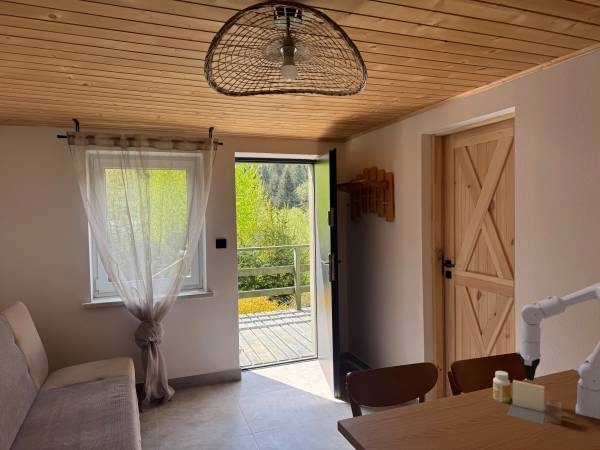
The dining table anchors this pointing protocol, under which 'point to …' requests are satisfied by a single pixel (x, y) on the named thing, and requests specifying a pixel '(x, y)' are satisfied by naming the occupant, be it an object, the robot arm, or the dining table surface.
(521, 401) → the tile
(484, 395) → the dining table surface
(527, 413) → the mat
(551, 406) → the block
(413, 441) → the dining table surface
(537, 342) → the robot arm
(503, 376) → the supplement bottle
